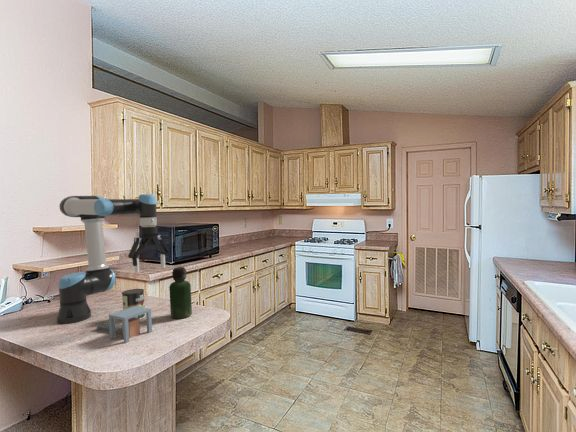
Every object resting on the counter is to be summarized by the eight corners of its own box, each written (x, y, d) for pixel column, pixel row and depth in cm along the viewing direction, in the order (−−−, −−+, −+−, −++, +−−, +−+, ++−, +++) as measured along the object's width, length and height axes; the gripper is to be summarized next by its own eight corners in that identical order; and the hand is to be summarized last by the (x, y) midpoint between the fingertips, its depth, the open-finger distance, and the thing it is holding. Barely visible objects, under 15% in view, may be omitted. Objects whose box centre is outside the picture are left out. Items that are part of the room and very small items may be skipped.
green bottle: (169, 320, 162) (167, 270, 162) (172, 313, 173) (170, 267, 172) (191, 318, 165) (188, 269, 164) (192, 311, 175) (190, 265, 174)
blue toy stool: (110, 338, 142) (108, 314, 142) (136, 327, 153) (135, 306, 153) (126, 342, 137) (124, 318, 136) (152, 331, 148) (150, 308, 148)
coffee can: (149, 315, 172) (148, 288, 171) (136, 322, 162) (135, 294, 161) (132, 314, 174) (130, 288, 173) (118, 321, 164) (117, 293, 163)
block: (122, 336, 144) (121, 320, 144) (132, 332, 148) (132, 317, 148) (130, 338, 142) (129, 322, 141) (140, 333, 146) (139, 318, 146)
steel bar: (97, 330, 153) (96, 324, 153) (103, 328, 156) (103, 321, 156) (125, 335, 146) (124, 328, 146) (131, 332, 149) (131, 325, 149)
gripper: (127, 228, 145) (129, 275, 145) (175, 224, 165) (177, 266, 165) (118, 228, 149) (120, 273, 150) (167, 224, 169) (168, 264, 170)
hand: (150, 269), depth 158 cm, fingers open, 13 cm apart
